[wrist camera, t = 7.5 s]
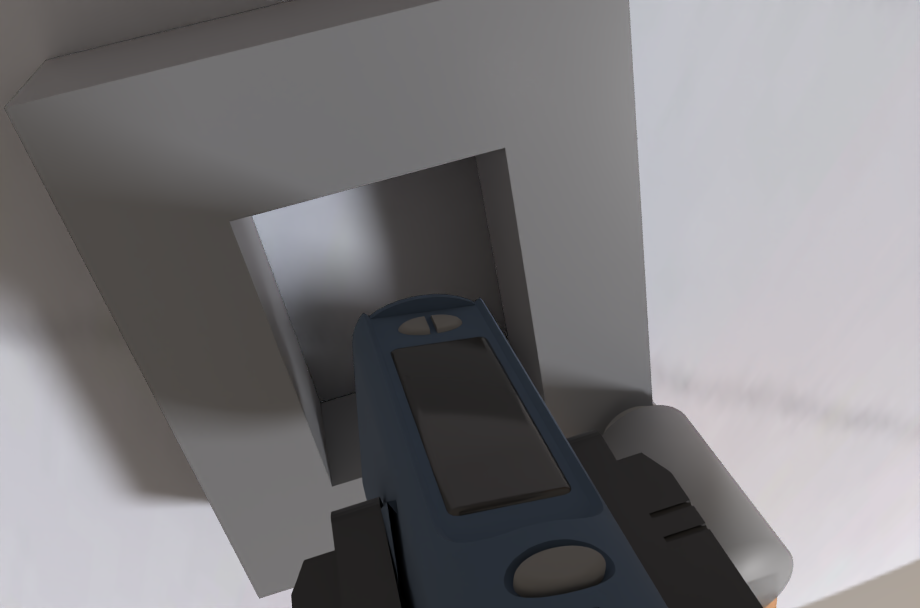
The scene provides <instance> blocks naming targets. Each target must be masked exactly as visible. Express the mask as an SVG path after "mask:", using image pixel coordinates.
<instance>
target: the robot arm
mask: <svg viewBox="0 0 920 608" xmlns="http://www.w3.org/2000/svg"><path fill="white" fill-rule="evenodd" d="M566 439H567V441H568V442H569V444H570V446H571V447H572V449H573V451H574V452H575V454H576V456H577V457H578V459H579V461H580V462H581V464H582V466H583V467H584V469H585V471H586V472H587V474H588V476H589V477H590V479H591V481H592V482H593V484H594V485H595V487H596V489H597V490H598V492H599V494H600V495H601V497H602V499H603V500H604V502H605V504H606V505H607V507H608V509H609V510H610V512H611V514H612V515H613V517H614V519H615V520H616V522H617V524H618V525H619V527H620V529H621V530H622V532H623V534H624V535H625V537H626V539H627V540H628V542H629V544H630V545H631V547H632V549H633V550H634V552H635V554H636V555H637V557H638V559H639V560H640V562H641V564H642V565H643V567H644V569H645V570H646V572H647V573H648V575H649V577H650V578H651V580H652V582H653V583H654V585H655V587H656V588H657V590H658V592H659V593H660V595H661V597H662V598H663V600H664V602H665V603H666V605H667V607H668V608H763V607H762V605H761V604H760V602H759V601H758V599H757V598H756V596H755V595H754V593H753V592H752V590H751V589H750V587H749V586H748V585H747V583H746V582H745V580H744V579H743V577H742V576H741V574H740V573H739V571H738V570H737V568H736V567H735V565H734V564H733V562H732V561H731V560H730V558H729V557H728V555H727V554H726V552H725V551H724V549H723V548H722V546H721V545H720V543H719V542H718V540H717V539H716V537H715V536H714V535H713V533H712V532H711V530H710V529H708V528H707V526H706V523H705V521H704V520H703V518H702V517H701V515H700V514H699V513H698V511H697V510H696V508H695V507H694V506H692V505H691V502H690V499H689V498H688V496H687V495H686V493H685V492H684V490H683V489H682V488H681V486H680V485H679V483H678V482H677V480H676V479H675V477H674V476H673V474H672V473H671V472H670V471H668V470H667V469H666V468H664V467H663V466H661V465H660V464H658V463H657V462H655V461H654V460H652V459H651V458H649V457H648V456H646V455H645V454H643V453H642V452H641V453H638V454H635V455H632V456H629V457H626V458H623V459H619V460H616V458H615V457H614V455H613V453H612V452H611V450H610V448H609V447H608V445H607V443H606V442H605V440H604V438H603V437H602V435H601V434H600V433H599V431H597V430H596V429H594V430H591V431H588V432H584V433H581V434H578V435H575V436H572V437H569V438H566ZM382 507H383V503H382V500H381V498H380V497H377V498H374V499H370V500H367V501H364V502H361V503H358V504H355V505H351V506H348V507H345V508H342V509H339V510H336V511H332V512H331V525H332V532H333V540H334V548H335V550H334V551H331V552H328V553H325V554H321V555H318V556H315V557H312V558H309V559H306V560H304V561H303V564H302V567H301V570H300V572H299V575H298V578H297V581H296V583H295V586H294V589H293V592H292V594H291V598H292V608H407V605H406V601H405V596H404V592H403V588H402V583H401V579H400V575H399V571H398V566H397V562H396V566H397V573H398V580H399V586H400V591H399V587H398V582H397V578H396V574H395V569H394V565H393V560H392V556H391V552H390V547H389V543H388V539H387V534H386V530H385V525H384V521H383V517H382V513H381V509H382ZM395 560H396V558H395ZM400 593H401V595H400Z"/></svg>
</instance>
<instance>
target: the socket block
mask: <svg viewBox="0 0 920 608" xmlns="http://www.w3.org/2000/svg"><path fill="white" fill-rule="evenodd" d="M4 109H5V111H6V113H7V115H8V117H9V118H10V120H11V122H12V124H13V126H14V128H15V130H16V132H17V134H18V136H19V138H20V140H21V142H22V143H23V145H24V147H25V149H26V151H27V153H28V155H29V157H30V159H31V161H32V163H33V165H34V167H35V168H36V170H37V172H38V174H39V176H40V178H41V180H42V182H43V184H44V186H45V188H46V190H47V191H48V193H49V195H50V197H51V199H52V201H53V203H54V205H55V207H56V209H57V211H58V213H59V215H60V216H61V218H62V220H63V222H64V224H65V226H66V228H67V230H68V232H69V234H70V236H71V238H72V240H73V241H74V243H75V245H76V247H77V249H78V251H79V253H80V255H81V257H82V259H83V261H84V263H85V265H86V266H87V268H88V270H89V272H90V274H91V276H92V278H93V280H94V282H95V284H96V286H97V288H98V290H99V291H100V293H101V295H102V297H103V299H104V301H105V303H106V305H107V307H108V309H109V311H110V313H111V314H112V316H113V318H114V320H115V322H116V324H117V326H118V328H119V330H120V332H121V334H122V336H123V338H124V339H125V341H126V343H127V345H128V347H129V349H130V351H131V353H132V355H133V357H134V359H135V361H136V363H137V364H138V366H139V368H140V370H141V372H142V374H143V376H144V378H145V380H146V382H147V384H148V386H149V388H150V389H151V391H152V393H153V395H154V397H155V399H156V401H157V403H158V405H159V407H160V409H161V411H162V412H163V414H164V416H165V418H166V420H167V422H168V424H169V426H170V428H171V430H172V432H173V434H174V436H175V437H176V439H177V441H178V443H179V445H180V447H181V449H182V451H183V453H184V455H185V457H186V459H187V461H188V462H189V464H190V466H191V468H192V470H193V472H194V474H195V476H196V478H197V480H198V482H199V484H200V486H201V487H202V489H203V491H204V493H205V495H206V497H207V499H208V501H209V503H210V505H211V507H212V509H213V511H214V512H215V514H216V516H217V518H218V520H219V522H220V524H221V526H222V528H223V530H224V532H225V534H226V535H227V537H228V539H229V541H230V543H231V545H232V547H233V549H234V551H235V553H236V555H237V557H238V559H239V560H240V562H241V564H242V566H243V568H244V570H245V572H246V574H247V576H248V578H249V580H250V582H251V584H252V585H253V587H254V589H255V591H256V593H257V595H258V597H259V598H263V597H266V596H269V595H272V594H275V593H278V592H281V591H284V590H288V589H291V588H294V586H295V583H296V581H297V578H298V575H299V572H300V570H301V567H302V564H303V561H304V560H306V559H309V558H312V557H315V556H318V555H321V554H325V553H328V552H331V551H334V550H335V548H334V540H333V532H332V525H331V512H332V511H336V510H339V509H342V508H345V507H348V506H351V505H355V504H358V503H361V502H364V501H367V500H366V496H365V492H364V487H363V483H362V469H361V456H360V442H359V429H358V415H357V402H356V393H354V394H350V395H347V396H343V397H340V398H337V399H333V400H330V401H327V402H323V403H320V400H319V397H318V395H317V392H316V389H315V386H314V384H313V381H312V378H311V376H310V373H309V370H308V367H307V365H306V362H305V359H304V357H303V354H302V351H301V348H300V346H299V343H298V340H297V338H296V335H295V332H294V329H293V327H292V324H291V321H290V319H289V316H288V313H287V310H286V308H285V305H284V302H283V300H282V297H281V294H280V291H279V289H278V286H277V283H276V281H275V278H274V275H273V272H272V270H271V267H270V264H269V262H268V259H267V256H266V253H265V251H264V248H263V245H262V243H261V240H260V237H259V234H258V232H257V229H256V226H255V224H254V221H253V218H252V215H256V214H260V213H264V212H267V211H271V210H275V209H278V208H282V207H286V206H290V205H293V204H297V203H301V202H305V201H308V200H312V199H316V198H319V197H323V196H327V195H331V194H334V193H338V192H342V191H345V190H349V189H353V188H357V187H360V186H364V185H368V184H371V183H375V182H379V181H383V180H386V179H390V178H394V177H398V176H401V175H405V174H409V173H412V172H416V171H420V170H424V169H427V168H431V167H435V166H438V165H442V164H446V163H450V162H453V161H457V160H461V159H464V158H468V157H472V156H475V158H476V163H477V169H478V174H479V180H480V185H481V191H482V196H483V202H484V207H485V213H486V218H487V224H488V229H489V235H490V240H491V246H492V251H493V257H494V262H495V268H496V273H497V278H498V284H499V289H500V295H501V300H502V306H503V311H504V317H505V322H506V328H507V333H508V339H509V344H510V346H511V348H512V349H513V351H514V353H515V354H516V356H517V358H518V359H519V361H520V363H521V364H522V366H523V368H524V369H525V371H526V373H527V374H528V376H529V378H530V379H531V381H532V383H533V384H534V386H535V388H536V389H537V391H538V393H539V394H540V396H541V397H542V399H543V401H544V402H545V404H546V406H547V407H548V409H549V411H550V412H551V414H552V416H553V417H554V419H555V421H556V422H557V424H558V426H559V427H560V429H561V431H562V432H563V434H564V436H565V437H566V438H569V437H572V436H575V435H578V434H581V433H584V432H588V431H591V430H594V429H596V430H597V431H599V433H600V434H601V435H603V434H604V433H605V431H606V430H607V429H608V428H609V427H610V426H611V425H612V424H613V423H614V422H616V421H617V420H618V419H620V418H621V417H623V416H624V415H626V414H628V413H630V412H632V411H634V410H637V409H639V408H643V407H647V406H653V405H656V404H655V403H654V402H653V400H652V386H651V369H650V352H649V335H648V318H647V301H646V284H645V267H644V250H643V232H642V215H641V198H640V181H639V164H638V147H637V130H636V113H635V96H634V79H633V62H632V45H631V28H630V11H629V0H293V1H289V2H284V3H280V4H276V5H272V6H268V7H264V8H260V9H255V10H251V11H247V12H243V13H239V14H235V15H231V16H226V17H222V18H218V19H214V20H210V21H206V22H202V23H198V24H193V25H189V26H185V27H181V28H177V29H173V30H169V31H164V32H160V33H156V34H152V35H148V36H144V37H140V38H135V39H131V40H127V41H123V42H119V43H115V44H111V45H106V46H102V47H98V48H94V49H90V50H86V51H82V52H77V53H73V54H69V55H65V56H61V57H57V58H53V59H48V60H46V61H45V62H44V63H43V64H42V65H41V66H40V68H39V69H38V70H37V71H36V72H35V73H34V74H33V76H32V77H31V78H30V79H29V80H28V81H27V82H26V84H25V85H24V86H23V87H22V88H21V89H20V90H19V92H18V93H17V94H16V95H15V96H14V97H13V98H12V100H11V101H10V102H9V103H8V104H7V105H6V106H5V107H4Z"/></svg>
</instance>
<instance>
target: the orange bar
mask: <svg viewBox="0 0 920 608" xmlns="http://www.w3.org/2000/svg"><path fill="white" fill-rule="evenodd" d="M602 437H603V438H604V440H605V442H606V443H607V445H608V447H609V448H610V450H611V452H612V453H613V455H614V457H615V458H616V460H619V459H623V458H626V457H629V456H632V455H635V454H638V453H641V452H642V453H643V454H645V455H646V456H648V457H649V458H651V459H652V460H654V461H655V462H657V463H658V464H660V465H661V466H663V467H664V468H666V469H667V470H668V471H670V472H671V473H672V474H673V476H674V477H675V479H676V480H677V482H678V483H679V485H680V486H681V488H682V489H683V490H684V492H685V493H686V495H687V496H688V498H689V499H690V502H691V505H692V506H694V507H695V508H696V510H697V511H698V513H699V514H700V515H701V517H702V518H703V520H704V521H705V523H706V526H707V528H708V529H710V530H711V532H712V533H713V535H714V536H715V537H716V539H717V540H718V542H719V543H720V545H721V546H722V548H723V549H724V551H725V552H726V554H727V555H728V557H729V558H730V560H731V561H732V562H733V564H734V565H735V567H736V568H737V570H738V571H739V573H740V574H741V576H742V577H743V579H744V580H745V582H746V583H747V585H748V586H749V587H750V589H751V590H752V592H753V593H754V595H755V596H756V598H757V599H758V601H759V602H760V604H761V605H762V607H763V608H776V603H777V596H778V595H779V594H780V593H781V592H782V591H783V589H784V588H785V586H786V585H787V583H788V581H789V579H790V577H791V574H792V570H793V559H792V555H791V553H790V552H789V550H788V549H787V548H786V546H785V545H784V544H783V543H782V541H781V540H780V539H779V537H778V536H777V535H776V533H775V532H774V531H773V529H772V528H771V527H770V526H769V524H768V523H767V522H766V520H765V519H764V518H763V516H762V515H761V514H760V512H759V511H758V510H757V509H756V507H755V506H754V505H753V503H752V502H751V501H750V499H749V498H748V497H747V495H746V494H745V493H744V492H743V490H742V489H741V488H740V486H739V485H738V484H737V482H736V481H735V480H734V478H733V477H732V476H731V475H730V473H729V472H728V471H727V469H726V468H725V467H724V465H723V464H722V463H721V461H720V460H719V459H718V458H717V456H716V455H715V454H714V452H713V451H712V450H711V448H710V447H709V446H708V444H707V443H706V442H705V441H704V439H703V438H702V437H701V435H700V434H699V433H698V431H697V430H696V429H695V427H694V426H693V425H692V424H691V422H690V421H689V420H688V418H687V417H686V416H685V415H684V414H683V413H682V412H681V411H679V410H678V409H676V408H673V407H670V406H664V405H653V406H647V407H643V408H639V409H637V410H634V411H632V412H630V413H628V414H626V415H624V416H623V417H621V418H620V419H618V420H617V421H616V422H614V423H613V424H612V425H611V426H610V427H609V428H608V429H607V430H606V431H605V433H604V434H603V435H602Z"/></svg>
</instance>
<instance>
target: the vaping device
mask: <svg viewBox="0 0 920 608" xmlns="http://www.w3.org/2000/svg"><path fill="white" fill-rule="evenodd" d="M352 348H353V362H354V375H355V389H356V402H357V415H358V429H359V442H360V456H361V469H362V483H363V487H364V492H365V496H366V500H370V499H374V498H377V497H380V498H381V500H382V503H383V507H382V509H381V513H382V517H383V521H384V525H385V530H386V534H387V539H388V543H389V547H390V552H391V556H392V560H393V565H394V569H395V574H396V578H397V582H398V587H399V591H400V586H399V580H398V573H397V566H398V571H399V575H400V579H401V583H402V588H403V592H404V596H405V601H406V605H407V608H668V607H667V605H666V603H665V602H664V600H663V598H662V597H661V595H660V593H659V592H658V590H657V588H656V587H655V585H654V583H653V582H652V580H651V578H650V577H649V575H648V573H647V572H646V570H645V569H644V567H643V565H642V564H641V562H640V560H639V559H638V557H637V555H636V554H635V552H634V550H633V549H632V547H631V545H630V544H629V542H628V540H627V539H626V537H625V535H624V534H623V532H622V530H621V529H620V527H619V525H618V524H617V522H616V520H615V519H614V517H613V515H612V514H611V512H610V510H609V509H608V507H607V505H606V504H605V502H604V500H603V499H602V497H601V495H600V494H599V492H598V490H597V489H596V487H595V485H594V484H593V482H592V481H591V479H590V477H589V476H588V474H587V472H586V471H585V469H584V467H583V466H582V464H581V462H580V461H579V459H578V457H577V456H576V454H575V452H574V451H573V449H572V447H571V446H570V444H569V442H568V441H567V439H566V437H565V436H564V434H563V432H562V431H561V429H560V427H559V426H558V424H557V422H556V421H555V419H554V417H553V416H552V414H551V412H550V411H549V409H548V407H547V406H546V404H545V402H544V401H543V399H542V397H541V396H540V394H539V393H538V391H537V389H536V388H535V386H534V384H533V383H532V381H531V379H530V378H529V376H528V374H527V373H526V371H525V369H524V368H523V366H522V364H521V363H520V361H519V359H518V358H517V356H516V354H515V353H514V351H513V349H512V348H511V346H510V344H509V343H508V341H507V339H506V338H505V336H504V334H503V333H502V331H501V329H500V328H499V326H498V324H497V323H496V321H495V319H494V318H493V316H492V314H491V313H490V311H489V309H488V308H487V306H486V305H485V303H484V301H483V300H482V299H481V298H480V297H479V298H478V299H477V300H476V301H475V302H474V301H471V300H469V299H467V298H463V297H459V296H454V295H447V294H430V295H420V296H415V297H410V298H406V299H403V300H399V301H396V302H394V303H391V304H389V305H386V306H384V307H383V308H381V309H379V310H377V311H375V312H374V313H373V314H371V315H370V316H368V315H366V314H365V313H363V314H362V315H361V316H360V318H359V320H358V322H357V324H356V326H355V329H354V332H353V339H352ZM395 558H396V560H395ZM396 562H397V566H396ZM400 595H401V593H400Z"/></svg>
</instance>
